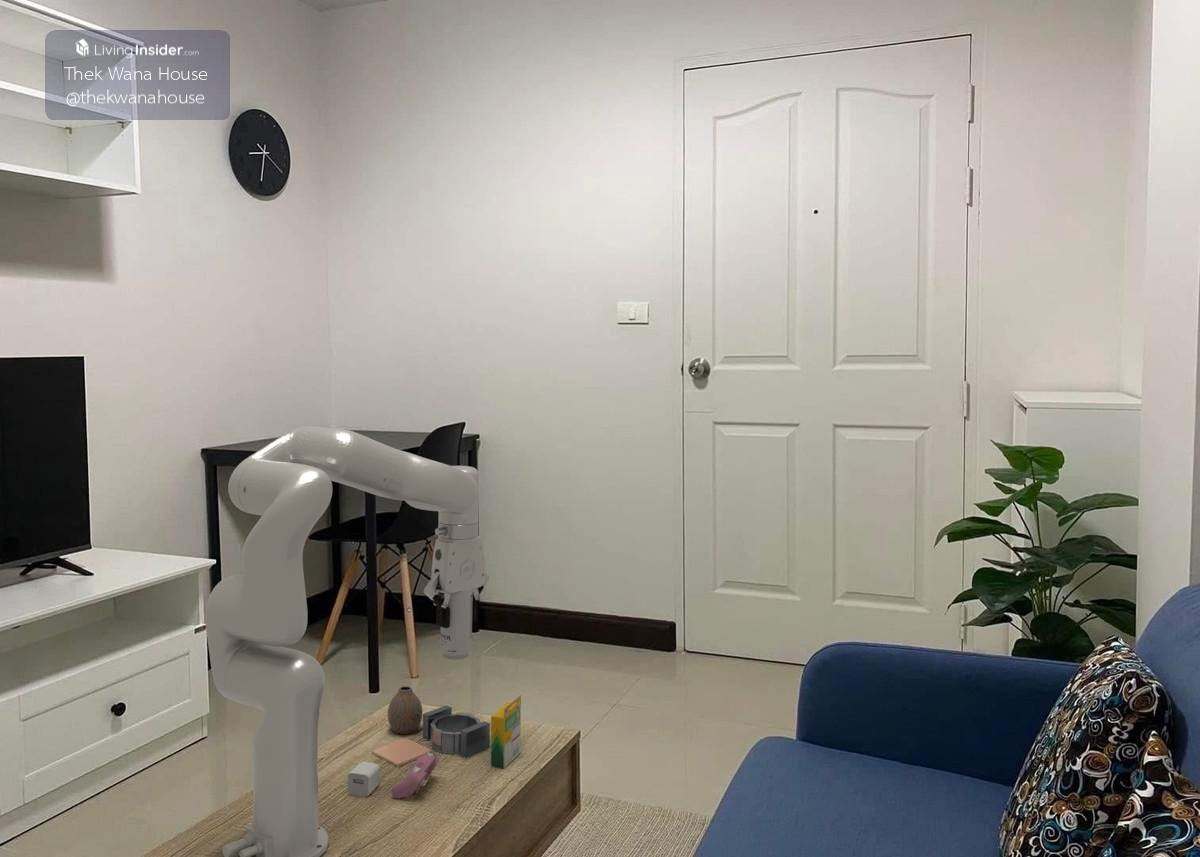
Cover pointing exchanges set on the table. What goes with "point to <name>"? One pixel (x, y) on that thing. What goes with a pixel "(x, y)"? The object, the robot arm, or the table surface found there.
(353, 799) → the table surface
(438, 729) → the ring holder
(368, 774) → the usb wall charger
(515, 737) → the crayon box
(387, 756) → the coaster
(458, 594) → the energy drink can
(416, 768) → the video game controller
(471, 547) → the robot arm
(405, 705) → the vase
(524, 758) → the table surface
